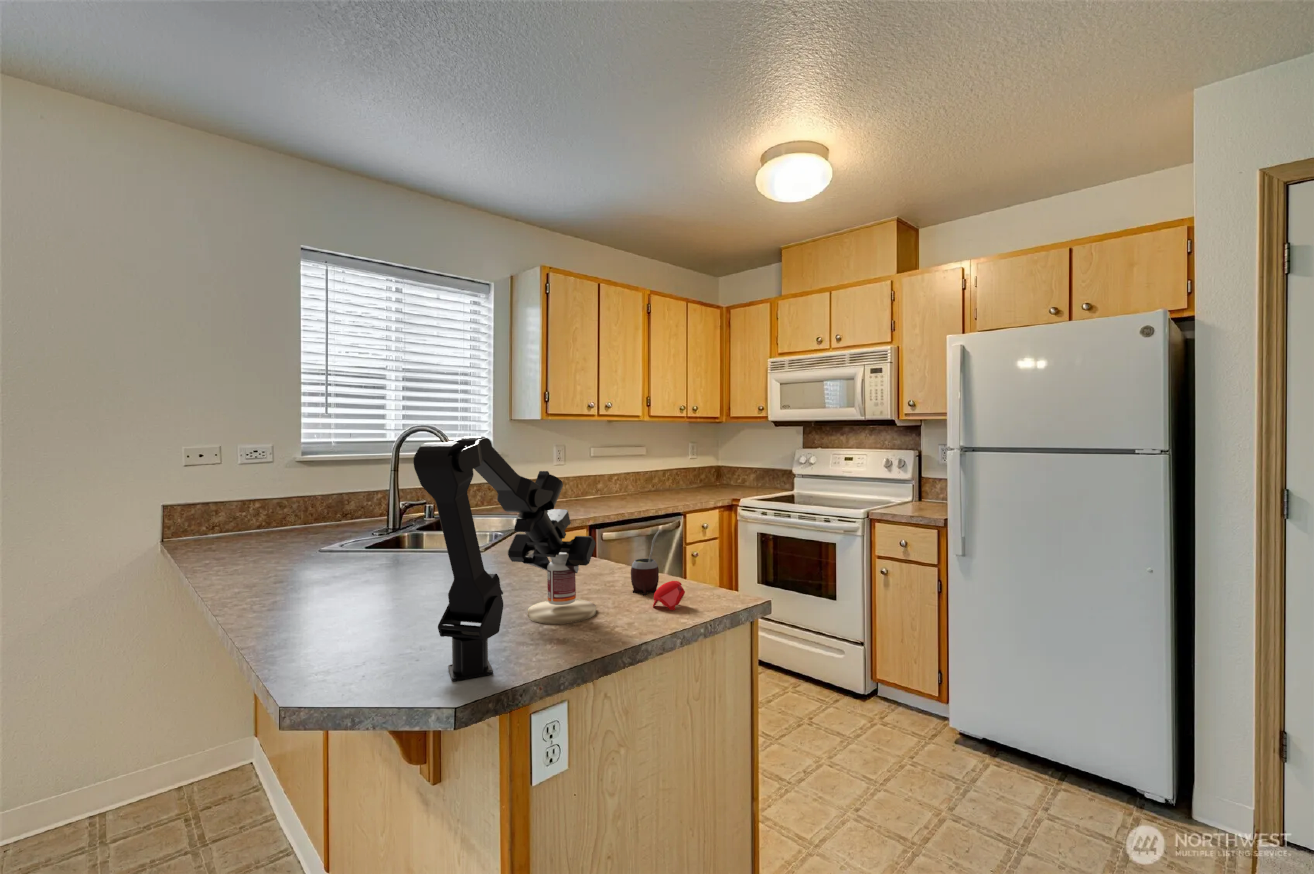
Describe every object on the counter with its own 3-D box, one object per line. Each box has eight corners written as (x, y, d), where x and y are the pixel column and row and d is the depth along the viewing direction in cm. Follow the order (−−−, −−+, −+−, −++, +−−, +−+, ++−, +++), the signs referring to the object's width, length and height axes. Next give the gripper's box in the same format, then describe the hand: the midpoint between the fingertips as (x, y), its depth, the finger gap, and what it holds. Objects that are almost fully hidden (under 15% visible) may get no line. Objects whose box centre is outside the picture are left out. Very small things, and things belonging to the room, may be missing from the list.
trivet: (605, 617, 128) (605, 612, 128) (537, 628, 121) (536, 622, 121) (584, 600, 141) (583, 595, 141) (521, 609, 135) (521, 604, 135)
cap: (689, 589, 138) (668, 575, 139) (688, 587, 132) (666, 572, 134) (670, 619, 136) (649, 604, 138) (668, 618, 130) (646, 602, 132)
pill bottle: (581, 600, 132) (580, 551, 132) (563, 607, 127) (563, 555, 127) (559, 597, 135) (559, 548, 135) (541, 603, 130) (541, 553, 130)
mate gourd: (630, 596, 145) (629, 535, 145) (632, 587, 153) (631, 530, 153) (660, 595, 145) (659, 534, 145) (661, 587, 153) (660, 529, 153)
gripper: (591, 498, 125) (612, 542, 135) (514, 497, 130) (539, 539, 141) (575, 542, 117) (598, 585, 127) (494, 538, 123) (522, 580, 133)
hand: (564, 570), depth 132 cm, fingers closed on pill bottle, 6 cm apart
